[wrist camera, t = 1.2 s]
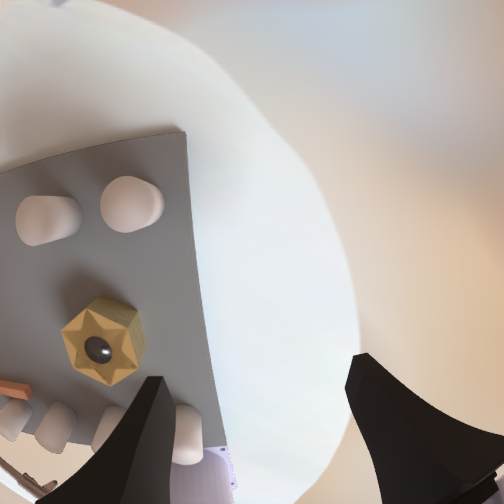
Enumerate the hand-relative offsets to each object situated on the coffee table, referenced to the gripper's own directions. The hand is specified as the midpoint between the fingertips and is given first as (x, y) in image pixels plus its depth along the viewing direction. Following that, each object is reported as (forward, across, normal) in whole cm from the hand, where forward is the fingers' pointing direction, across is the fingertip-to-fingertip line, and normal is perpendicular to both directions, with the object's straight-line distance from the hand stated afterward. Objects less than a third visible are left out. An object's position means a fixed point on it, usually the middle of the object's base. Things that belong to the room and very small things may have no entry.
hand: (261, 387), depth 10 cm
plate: (+9, +16, +4) cm, 19 cm away
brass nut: (+8, +10, +3) cm, 13 cm away
